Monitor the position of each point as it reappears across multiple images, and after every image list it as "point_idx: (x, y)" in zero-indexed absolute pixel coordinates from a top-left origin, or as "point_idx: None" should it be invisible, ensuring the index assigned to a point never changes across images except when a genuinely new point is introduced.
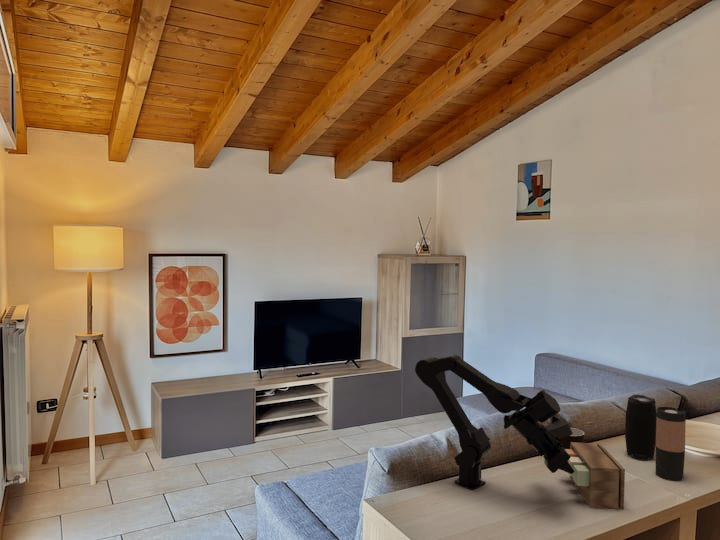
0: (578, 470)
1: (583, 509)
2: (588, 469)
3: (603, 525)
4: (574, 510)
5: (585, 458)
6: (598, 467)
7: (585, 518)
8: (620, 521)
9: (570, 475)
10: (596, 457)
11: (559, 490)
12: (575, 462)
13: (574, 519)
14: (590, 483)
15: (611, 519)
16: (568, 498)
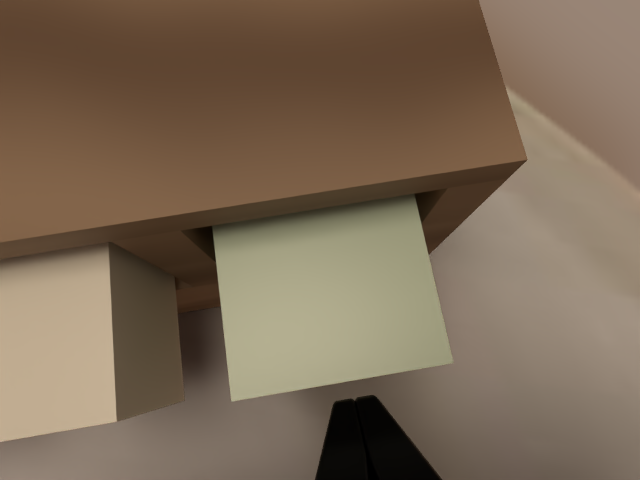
0: (435, 346)
1: (448, 322)
2: (352, 206)
3: (628, 231)
4: (487, 386)
5: (134, 192)
6: (475, 60)
7: (580, 327)
8: (531, 131)
9: (178, 401)
10: (58, 32)
11: (171, 465)
12: (117, 351)
13: (628, 403)
14: (444, 233)
15: (526, 175)
16: (300, 408)
